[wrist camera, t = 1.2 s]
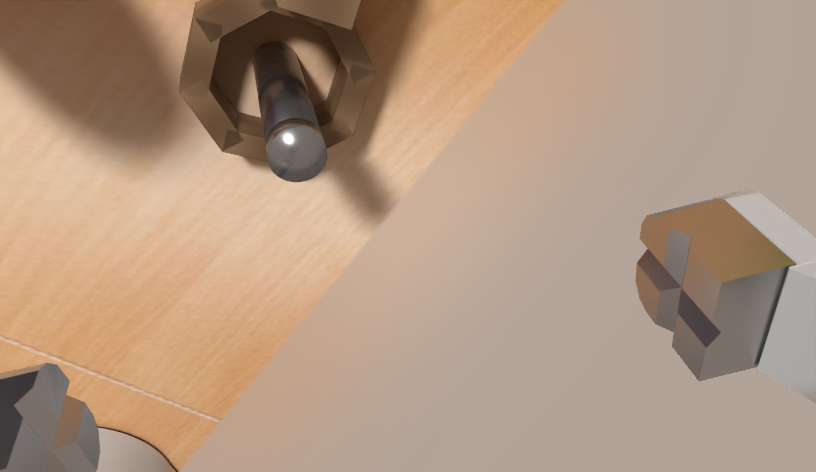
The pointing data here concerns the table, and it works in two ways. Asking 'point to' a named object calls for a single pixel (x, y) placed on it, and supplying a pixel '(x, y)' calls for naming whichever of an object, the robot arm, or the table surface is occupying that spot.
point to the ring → (243, 134)
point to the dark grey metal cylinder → (287, 115)
